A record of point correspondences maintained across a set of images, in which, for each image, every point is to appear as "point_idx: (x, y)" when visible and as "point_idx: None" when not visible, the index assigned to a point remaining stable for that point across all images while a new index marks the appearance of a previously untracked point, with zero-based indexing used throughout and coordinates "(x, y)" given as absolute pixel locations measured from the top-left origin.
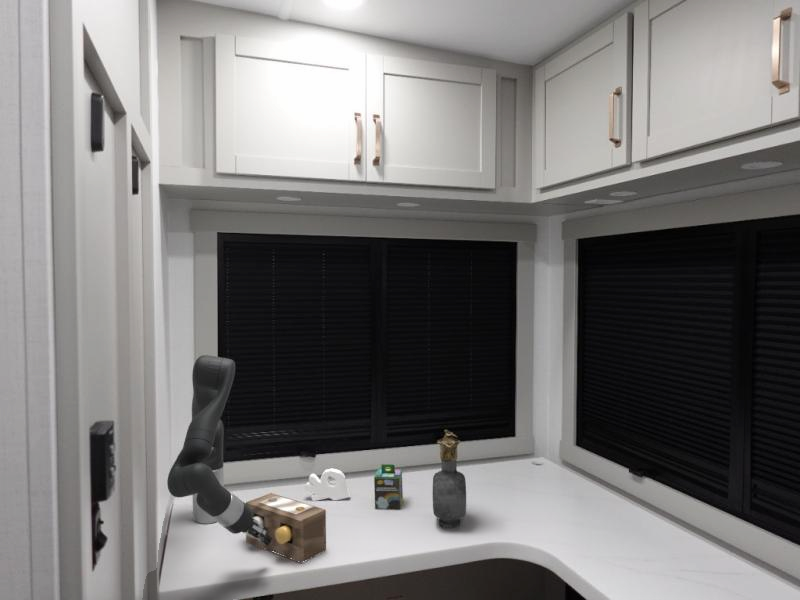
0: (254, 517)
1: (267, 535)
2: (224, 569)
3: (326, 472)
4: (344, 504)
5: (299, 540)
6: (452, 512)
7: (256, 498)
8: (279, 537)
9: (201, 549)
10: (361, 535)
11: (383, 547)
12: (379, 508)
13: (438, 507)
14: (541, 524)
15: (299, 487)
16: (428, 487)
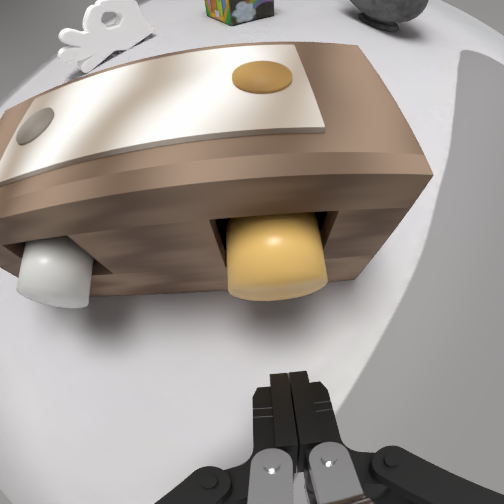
0: (26, 268)
1: (314, 411)
2: (156, 489)
3: (95, 7)
4: (158, 43)
5: (377, 241)
6: (419, 12)
7: None
8: (270, 291)
9: (2, 409)
10: None
11: (407, 99)
12: (240, 22)
13: (408, 5)
14: (438, 19)
15: (39, 77)
16: None
